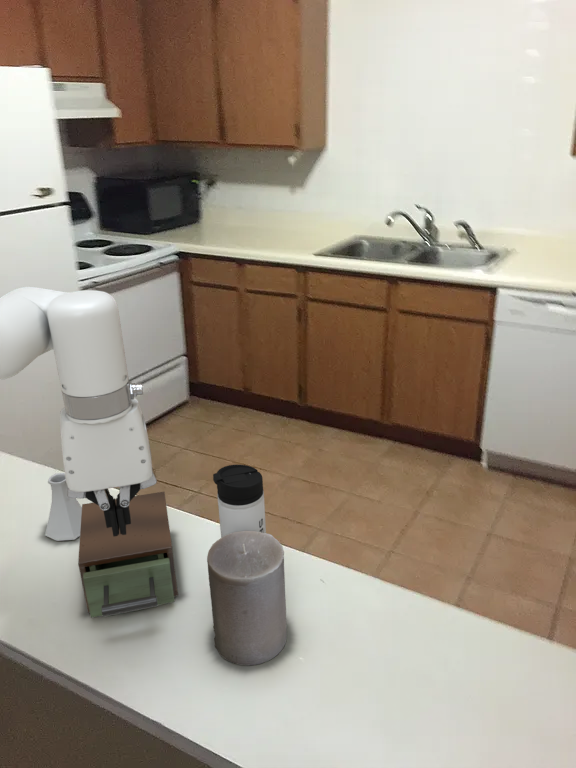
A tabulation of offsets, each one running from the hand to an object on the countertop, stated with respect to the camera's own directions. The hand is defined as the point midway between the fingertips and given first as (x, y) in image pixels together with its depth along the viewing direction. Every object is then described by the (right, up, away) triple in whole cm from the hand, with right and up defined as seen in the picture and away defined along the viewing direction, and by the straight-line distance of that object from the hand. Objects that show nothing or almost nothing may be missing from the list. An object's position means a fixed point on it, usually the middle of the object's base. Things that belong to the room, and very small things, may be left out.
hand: (119, 529), depth 85 cm
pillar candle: (+16, -15, +4) cm, 23 cm away
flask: (-15, -6, +27) cm, 32 cm away
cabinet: (-2, -10, +17) cm, 20 cm away
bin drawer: (-1, -11, +11) cm, 16 cm away
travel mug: (+15, -12, +12) cm, 23 cm away
